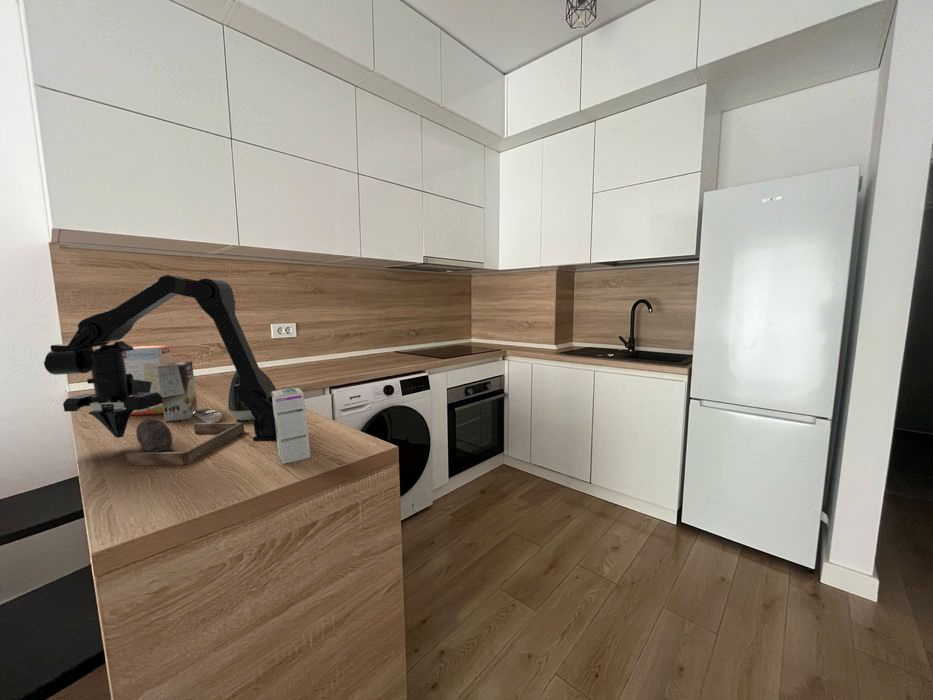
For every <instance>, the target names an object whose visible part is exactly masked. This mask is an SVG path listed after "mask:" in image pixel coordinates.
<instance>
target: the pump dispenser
mask: <svg viewBox="0 0 933 700" xmlns="http://www.w3.org/2000/svg"><path fill="white" fill-rule="evenodd" d="M237 384H239V375H238V373H237V371H236V370H235V372H234V373H233V375H232V379H231V380H230V385H229V389H228V396H227V409H228V410H229V412H230V414H231V416H233V418H234V419H236V420H238V421H242V420H243V422H245V420H248V421H253V420H252V419H255V417H253V415H252V413H251V411H250V410H249V408H246V407H245V406H244V404H243V403H242V402H240V403H239V398H238V395H237V394H236V392H235V391H234V388H233V386H235V385H237Z"/></svg>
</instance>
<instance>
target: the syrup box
mask: <svg viewBox="0 0 933 700" xmlns="http://www.w3.org/2000/svg"><path fill="white" fill-rule="evenodd" d="M272 401H273V410H274V418H275V427H276V435H277V440H276V443H277V451H278V457H279V460H280V462H281V464H282V465H284V464H290V463H291V464H292V463H294V462H299V461H303V460H307V459H310V458H311V451H310V449H311V448H310V440H309V438H310V437H309V430H308V422H307V414H306V405H305V395H304V392H303V391H302V390H301V388H300V387H287V388H281V389H276V391H272Z"/></svg>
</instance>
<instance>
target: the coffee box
mask: <svg viewBox="0 0 933 700" xmlns="http://www.w3.org/2000/svg"><path fill="white" fill-rule="evenodd" d="M157 368H158V375H159V383H160V390H161V396H162V402H163V403H162V404H163V412H164V414H163V417H164V419H163V420H164V423H165V422H167V423H168V422H173V421H182V420H190V419H191V418H192V417H193V416H194V415H193V412H194V411H197V410H198V411H199V407H198V400H197V391H196V384H195V382H196V381H195V375H194V374H195V373H194V366H193V361H192V360H189V361H188V360H186V361H177V362H176V361H175V362H174V363H167V364H165V365H162V366H159V367H157ZM198 411H197V412H198Z"/></svg>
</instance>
